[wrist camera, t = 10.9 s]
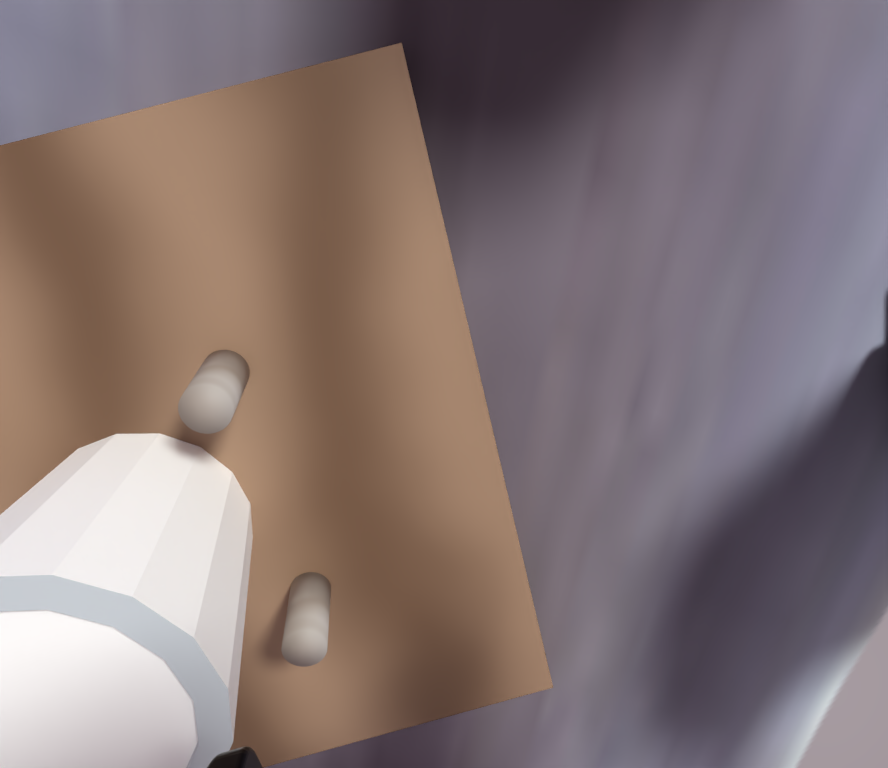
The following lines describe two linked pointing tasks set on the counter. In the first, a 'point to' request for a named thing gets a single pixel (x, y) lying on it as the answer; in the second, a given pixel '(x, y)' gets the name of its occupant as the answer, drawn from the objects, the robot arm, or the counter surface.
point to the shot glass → (123, 609)
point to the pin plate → (282, 382)
